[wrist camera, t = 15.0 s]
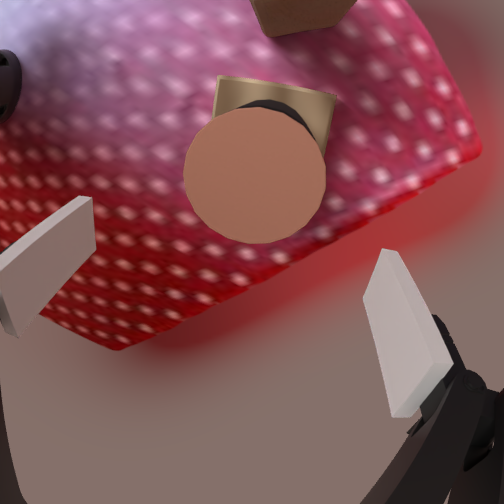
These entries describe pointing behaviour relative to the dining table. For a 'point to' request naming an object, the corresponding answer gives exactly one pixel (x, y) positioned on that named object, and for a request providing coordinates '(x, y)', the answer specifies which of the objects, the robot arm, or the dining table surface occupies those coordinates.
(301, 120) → the coffee jar
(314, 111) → the plinth
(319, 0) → the wooden block
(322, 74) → the dining table surface
